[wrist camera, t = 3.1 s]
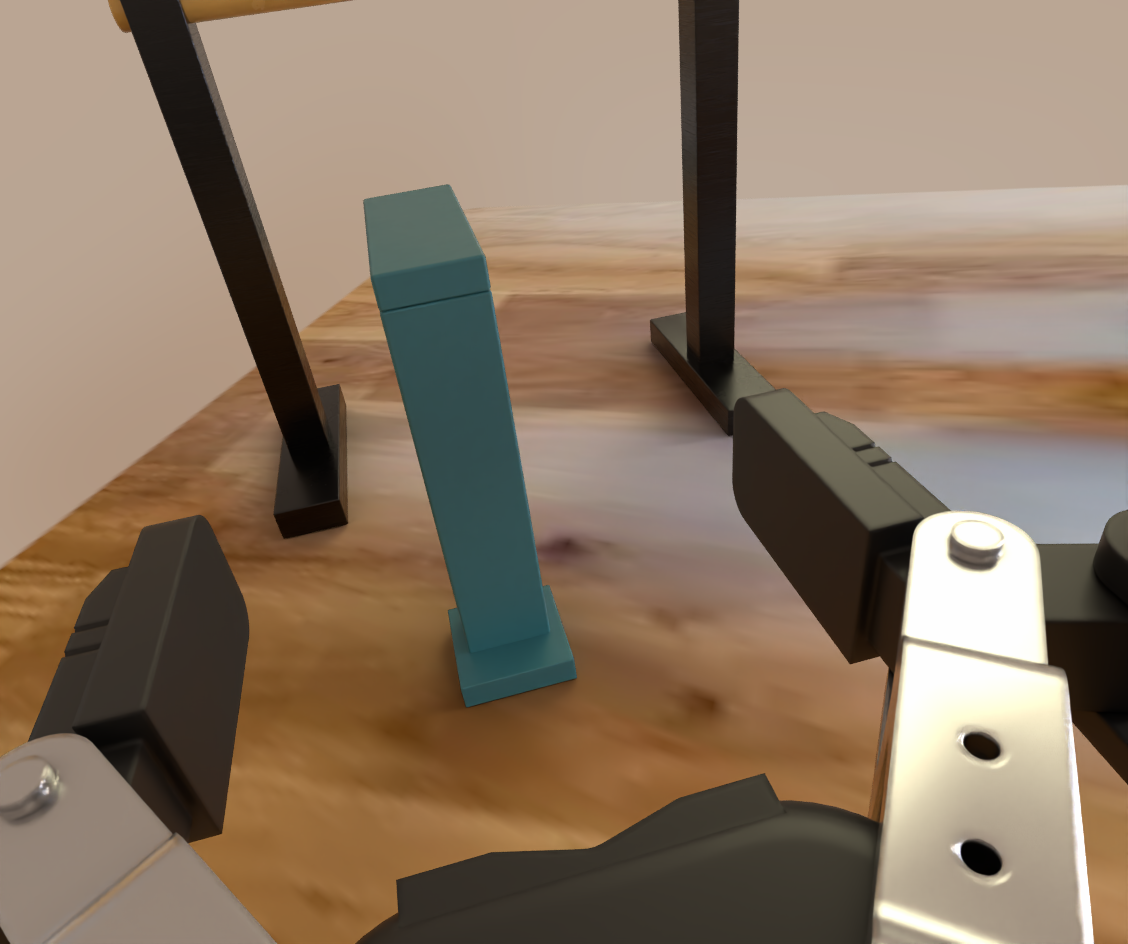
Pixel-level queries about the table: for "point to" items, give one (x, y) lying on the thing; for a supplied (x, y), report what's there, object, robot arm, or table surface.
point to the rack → (228, 210)
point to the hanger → (465, 441)
